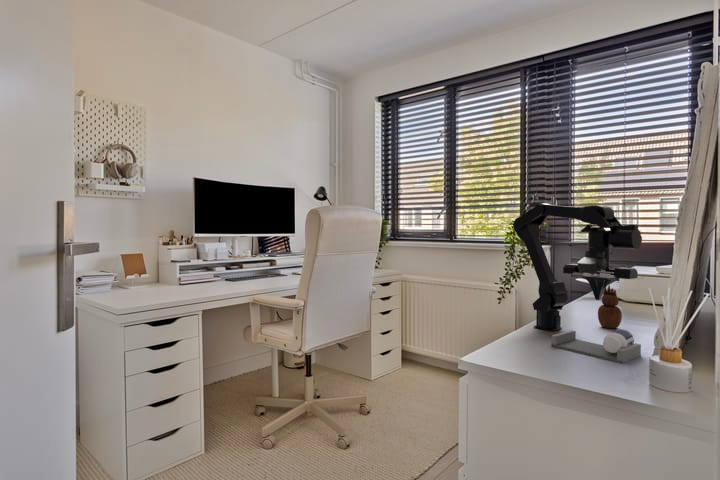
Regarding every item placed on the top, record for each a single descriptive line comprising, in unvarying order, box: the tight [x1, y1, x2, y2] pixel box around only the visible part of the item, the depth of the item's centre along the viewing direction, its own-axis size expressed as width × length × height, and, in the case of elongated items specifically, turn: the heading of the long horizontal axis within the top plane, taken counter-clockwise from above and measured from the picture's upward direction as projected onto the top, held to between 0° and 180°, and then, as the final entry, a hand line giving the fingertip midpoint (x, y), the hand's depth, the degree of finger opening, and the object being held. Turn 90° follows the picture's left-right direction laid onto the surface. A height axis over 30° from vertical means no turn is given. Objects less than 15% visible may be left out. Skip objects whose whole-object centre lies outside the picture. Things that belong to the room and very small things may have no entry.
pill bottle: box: [602, 328, 635, 354], centre depth 107 cm, size 5×5×10 cm
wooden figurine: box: [597, 284, 623, 330], centre depth 137 cm, size 7×6×15 cm
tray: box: [550, 329, 642, 364], centre depth 110 cm, size 18×11×3 cm, turn 35°
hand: (597, 299), depth 121 cm, fingers closed
